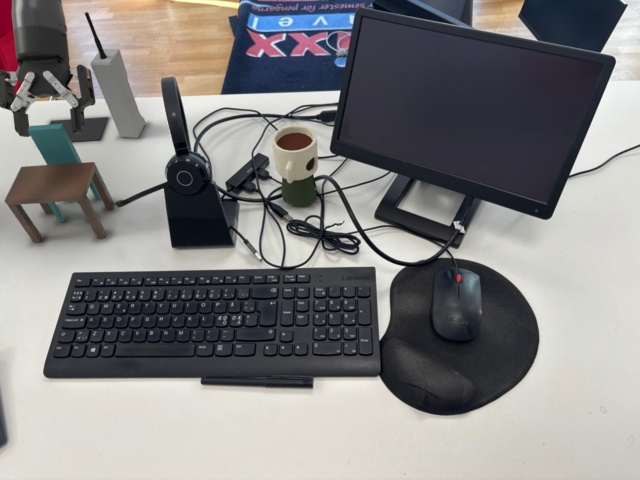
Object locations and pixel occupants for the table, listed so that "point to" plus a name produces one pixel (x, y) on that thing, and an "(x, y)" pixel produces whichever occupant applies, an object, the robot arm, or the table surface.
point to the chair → (56, 152)
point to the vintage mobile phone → (116, 89)
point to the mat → (91, 131)
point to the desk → (57, 192)
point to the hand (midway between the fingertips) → (51, 134)
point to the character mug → (296, 163)
